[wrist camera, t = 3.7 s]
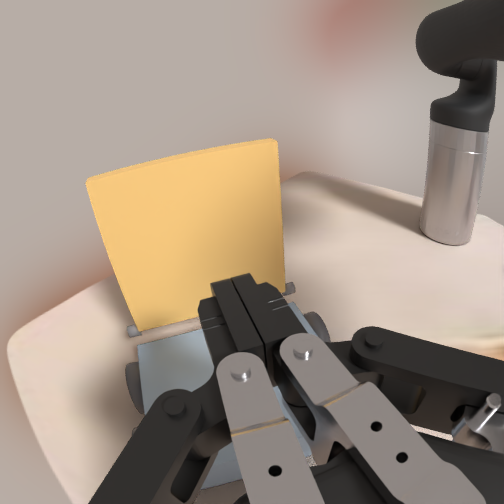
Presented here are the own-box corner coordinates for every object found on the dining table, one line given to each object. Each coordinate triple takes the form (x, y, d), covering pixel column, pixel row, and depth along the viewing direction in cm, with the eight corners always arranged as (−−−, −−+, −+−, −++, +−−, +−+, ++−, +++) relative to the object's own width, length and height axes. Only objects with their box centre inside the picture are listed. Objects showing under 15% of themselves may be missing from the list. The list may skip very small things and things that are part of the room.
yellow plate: (295, 295, 28) (290, 139, 21) (131, 340, 25) (71, 187, 18) (288, 285, 29) (281, 135, 22) (130, 328, 26) (76, 180, 19)
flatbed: (369, 427, 20) (381, 399, 18) (161, 497, 17) (138, 480, 14) (305, 331, 30) (305, 298, 28) (141, 378, 27) (124, 348, 24)
